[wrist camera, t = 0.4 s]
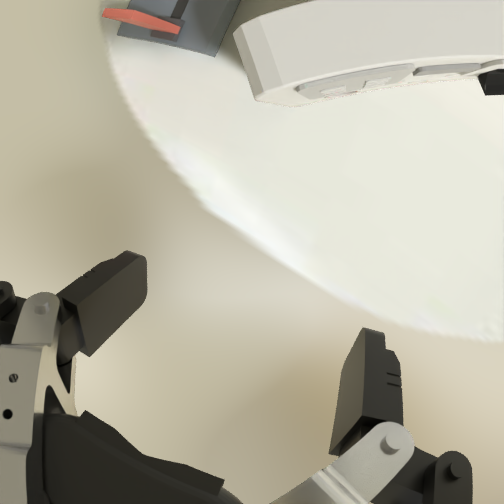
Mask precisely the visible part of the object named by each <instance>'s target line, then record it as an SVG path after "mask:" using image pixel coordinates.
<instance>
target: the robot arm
mask: <svg viewBox="0 0 504 504" xmlns="http://www.w3.org/2000/svg"><path fill="white" fill-rule="evenodd" d="M146 295H147V261H146V258H145V257H144V256H142V255H139V254H136V253H133V252H131V251H124V252H123V253H121V254H120V255H118V256H117V257H116V258H114V259H110V260H107V261H104V262H101V263H99V264H98V265H96V266H95V267H93V268H92V269H91V271H88V272H86V273H85V274H83V276H81V277H79V278H78V279H76V280H75V281H74V282H72V283H71V284H70V285H68V286H67V287H66V288H64V289H63V290H61V291H60V292H59V293H57V294H56V295H54V294H53V293H49V292H41V293H37V294H34V295H32V296H31V297H29V298H28V299H25V298H21V297H17V296H15V294H14V291H13V287H12V285H11V284H10V283H9V282H5V281H0V504H243V503H242V502H240V500H239V499H238V498H237V497H235V496H234V495H233V494H232V493H230V492H229V491H227V490H226V489H224V488H223V487H222V486H223V484H224V479H221V478H218V477H216V476H213V475H210V474H208V473H205V472H203V471H200V470H197V469H195V468H193V467H190V466H188V465H185V464H180V463H175V462H171V461H166V460H162V459H157V458H154V457H149V456H146V455H144V454H142V453H141V452H139V451H138V450H137V449H136V448H135V447H134V446H133V445H132V444H131V443H129V442H128V441H127V440H126V439H125V438H124V437H123V436H122V435H121V434H120V433H119V432H118V431H117V430H116V429H115V428H113V427H111V426H110V425H108V424H106V423H105V422H103V421H102V420H100V419H98V418H97V417H95V416H94V415H92V414H91V413H89V412H88V411H86V410H85V411H84V412H83V414H82V415H81V416H80V417H78V416H77V411H76V408H75V402H74V391H75V370H76V357H75V354H76V353H77V352H78V351H80V352H82V353H84V354H85V355H87V356H88V357H90V356H91V355H92V354H93V353H94V352H95V351H96V350H97V349H98V348H99V347H100V346H101V345H102V344H103V343H104V342H105V341H106V340H107V339H108V338H109V337H110V336H111V335H112V334H113V333H114V332H115V331H116V330H117V329H118V328H119V327H120V326H121V325H122V324H123V323H124V322H125V321H126V320H127V319H128V318H129V317H130V316H131V315H132V314H133V313H134V312H135V311H136V310H137V309H138V308H139V307H140V306H141V305H142V304H143V303H144V301H145V299H146ZM400 376H401V370H400V362H399V361H398V359H397V357H396V355H395V353H394V351H391V350H387V349H386V346H385V335H384V333H382V332H378V331H375V330H371V329H368V328H362V330H361V331H360V333H359V335H358V337H357V339H356V341H355V343H354V345H353V347H352V349H351V351H350V353H349V354H348V356H347V358H346V361H345V363H344V366H343V369H342V372H341V379H340V387H339V394H338V401H337V408H336V415H335V421H334V427H333V433H332V438H331V444H330V449H329V454H331V455H336V456H339V457H338V459H337V460H335V461H334V462H333V463H332V464H330V465H329V466H328V467H326V468H325V469H322V470H320V471H318V472H317V473H316V474H314V475H313V476H311V477H310V478H308V479H307V480H306V481H304V482H303V483H301V484H300V485H298V486H297V487H295V488H294V489H292V490H291V491H289V492H288V493H286V494H285V495H283V496H281V497H280V498H278V499H277V500H275V501H273V502H272V503H270V504H368V503H369V502H371V503H374V504H472V494H473V492H472V491H473V490H472V488H473V485H472V467H471V464H470V462H469V460H468V459H467V458H466V457H465V456H464V455H463V454H461V453H459V452H457V451H448V452H445V453H444V454H442V455H441V456H440V457H438V458H437V457H435V456H433V455H431V454H429V453H426V452H424V451H422V450H420V449H418V448H417V447H415V446H414V440H413V437H412V435H411V434H410V432H409V431H408V430H407V429H406V428H405V427H404V426H403V402H402V388H401V386H402V384H401V378H400Z"/></svg>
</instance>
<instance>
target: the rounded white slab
mask: <svg viewBox="0 0 504 504" xmlns="http://www.w3.org/2000/svg"><path fill="white" fill-rule="evenodd" d="M233 37H234V40H235V42H236V45H237V48H238V51H239V54H240V57H241V60H242V63H243V66H244V69H245V71H246V74H247V77H248V80H249V83H250V86H251V90H252V93H253V96H254V99H255V100H256V101H259V102H264V103H270V104H275V105H280V106H285V107H299V106H304V105H308V104H313V103H317V102H321V101H326V100H330V99H335V98H339V97H344V96H349V95H354V94H359V93H364V92H370V91H375V90H381V89H387V88H394V87H401V86H408V85H415V84H424V83H433V82H444V81H456V80H473V79H478V80H479V82H480V84H481V87H482V89H483V91H484V94H485V95H504V0H311V1H307V2H303V3H300V4H296V5H292V6H289V7H285V8H282V9H278V10H275V11H272V12H269V13H266V14H263V15H260V16H257V17H255V18H253V19H251V20H249V21H247V22H245V23H243V24H241V25H240V26H239V27H238V28H237V29H236V30H235V31H234V32H233Z"/></svg>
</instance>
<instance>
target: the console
mask: <svg viewBox="0 0 504 504" xmlns="http://www.w3.org/2000/svg"><path fill="white" fill-rule="evenodd" d="M239 2H240V0H131V1H130V3H129V6H128V8H127V9H128V10H136V11H139V12H142V13H145V14H148V15H150V16H153V17H156V18H158V16H162V17H169V18H175V19H181V20H183V21H185V23H184V25H183V27H182V30H181V32H180V35H179V37H178V39H177V42H173V41H168V40H163V39H158V38H154V37H150V35H151V32H152V29H148V28H145V27H141V26H138V25H134V24H130V23H126V22H123V21H122V23H121V25H120V28H119V31H118V33H117V35H118V36H123V37H128V38H134V39H140V40H145V41H150V42H156V43H160V44H165V45H170V46H174V47H178V48H183V49H187V50H191V51H194V52H198V53H202V54H206V55H209V56H213V57H215V56H216V53H217V51H218V48H219V46H220V44H221V41H222V39H223V37H224V35H225V32H226V30H227V28H228V26H229V24H230V21H231V19H232V17H233V15H234V13H235V11H236V9H237V6H238V4H239Z"/></svg>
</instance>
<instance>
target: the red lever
mask: <svg viewBox="0 0 504 504" xmlns="http://www.w3.org/2000/svg"><path fill="white" fill-rule="evenodd" d="M102 17H106V18H110V19H114V20H119V21H123V22H126V23H130V24H134V25H138V26H141V27H145V28H148V29H152V32H151V35H150V37H154V38H158V39H163V40H168V41H173V42H177V39H178V37H179V35H180V32H181V30H182V27H183V25H184V23H185V21H183V20H181V19H175V18H169V17H162V16H158V18H156V17H153V16H150V15H148V14H145V13H142V12H139V11H136V10H128V9H111V8H105V10H104V12H103V15H102Z"/></svg>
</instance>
